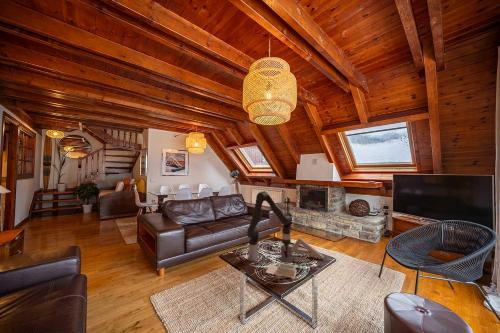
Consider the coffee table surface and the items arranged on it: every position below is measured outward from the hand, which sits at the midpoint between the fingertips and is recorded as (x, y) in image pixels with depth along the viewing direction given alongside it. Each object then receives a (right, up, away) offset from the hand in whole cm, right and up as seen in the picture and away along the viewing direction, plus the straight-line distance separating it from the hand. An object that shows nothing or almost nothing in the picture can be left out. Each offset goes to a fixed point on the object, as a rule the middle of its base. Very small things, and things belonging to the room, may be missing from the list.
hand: (286, 256), depth 177 cm
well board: (-4, -16, +2) cm, 16 cm away
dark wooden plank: (0, -5, 0) cm, 5 cm away
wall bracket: (+26, -15, +32) cm, 44 cm away
